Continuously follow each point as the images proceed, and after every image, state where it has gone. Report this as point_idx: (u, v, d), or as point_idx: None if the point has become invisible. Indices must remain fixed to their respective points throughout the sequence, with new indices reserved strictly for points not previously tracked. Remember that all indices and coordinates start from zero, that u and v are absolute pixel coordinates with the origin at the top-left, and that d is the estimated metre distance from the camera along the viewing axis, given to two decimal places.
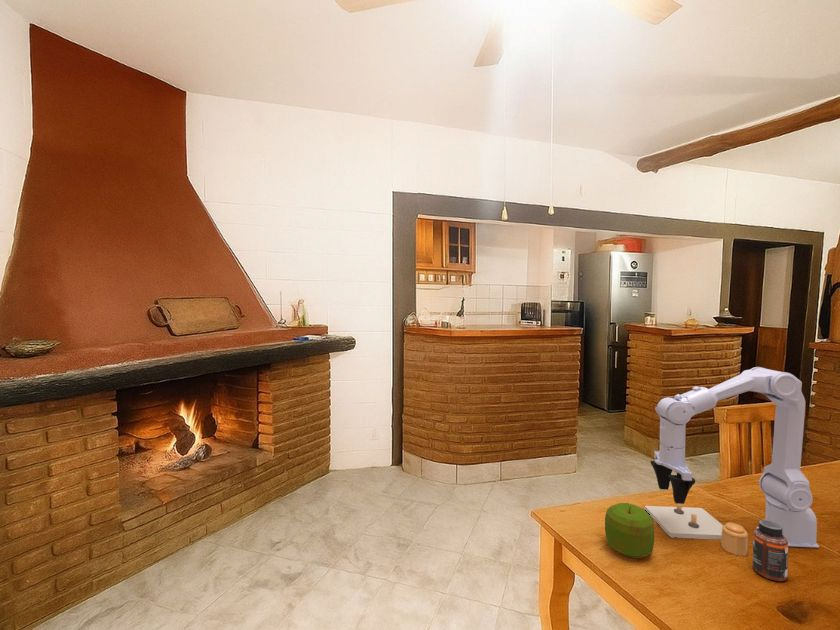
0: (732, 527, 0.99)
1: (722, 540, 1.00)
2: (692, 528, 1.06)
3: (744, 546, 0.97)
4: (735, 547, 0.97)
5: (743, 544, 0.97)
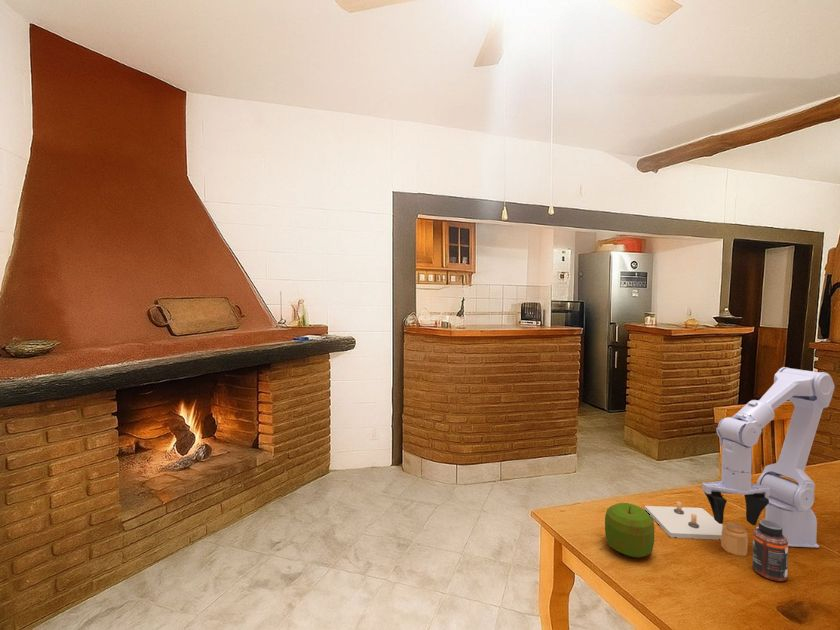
0: (732, 527, 0.99)
1: (722, 540, 1.00)
2: (692, 528, 1.06)
3: (744, 546, 0.97)
4: (735, 547, 0.97)
5: (743, 544, 0.97)
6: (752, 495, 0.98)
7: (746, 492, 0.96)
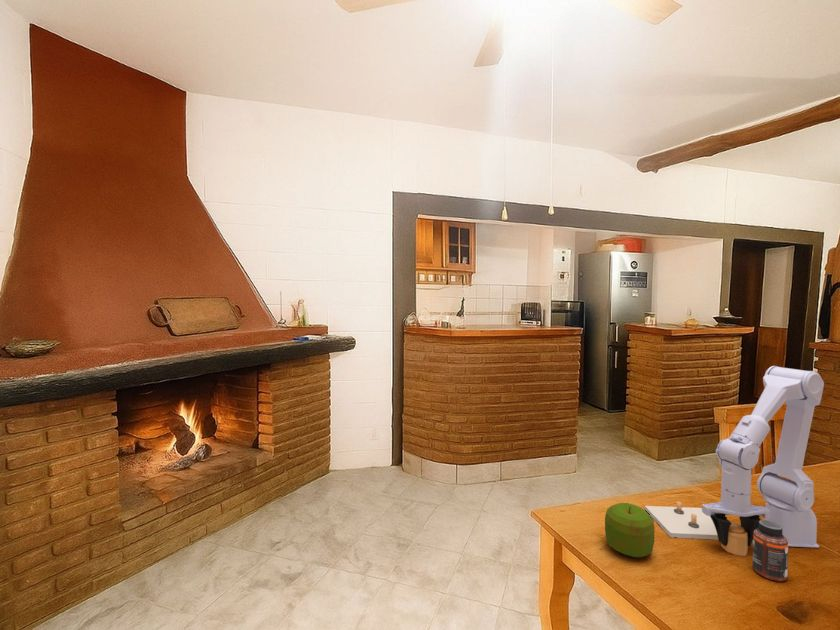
0: (732, 527, 0.99)
1: None
2: (692, 528, 1.06)
3: (744, 546, 0.97)
4: (735, 547, 0.97)
5: (743, 544, 0.97)
6: (747, 516, 0.99)
7: (746, 514, 0.96)
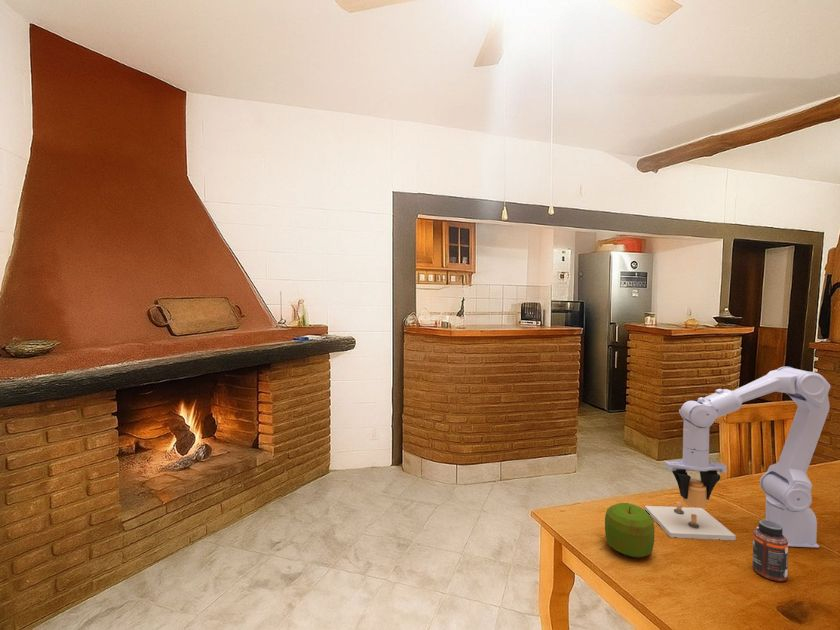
0: (692, 482, 1.07)
1: None
2: (692, 528, 1.06)
3: (703, 499, 1.05)
4: (695, 500, 1.05)
5: (702, 497, 1.05)
6: (706, 472, 1.07)
7: (704, 469, 1.04)
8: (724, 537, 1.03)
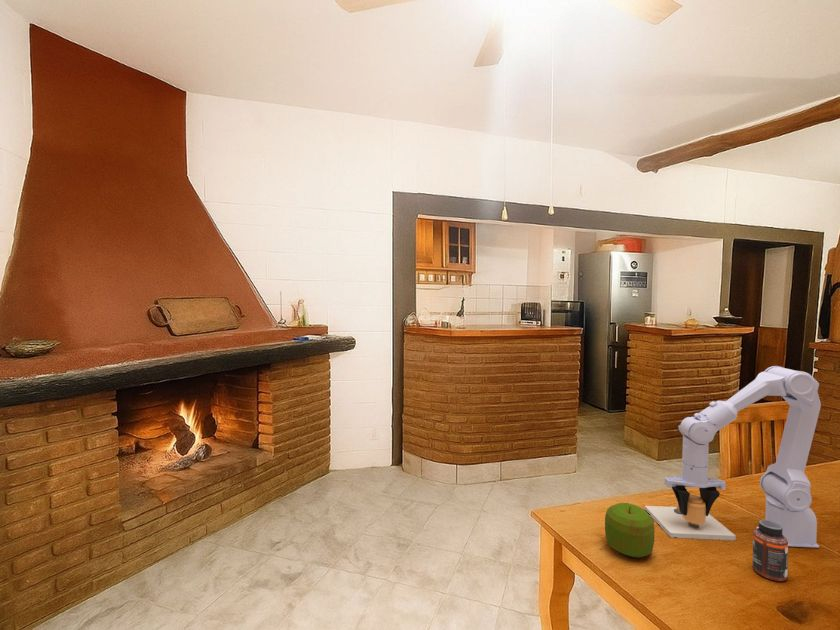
0: (692, 498, 1.07)
1: None
2: (692, 528, 1.06)
3: (702, 515, 1.05)
4: (694, 516, 1.05)
5: (701, 514, 1.05)
6: (705, 488, 1.07)
7: (703, 485, 1.04)
8: (724, 537, 1.03)
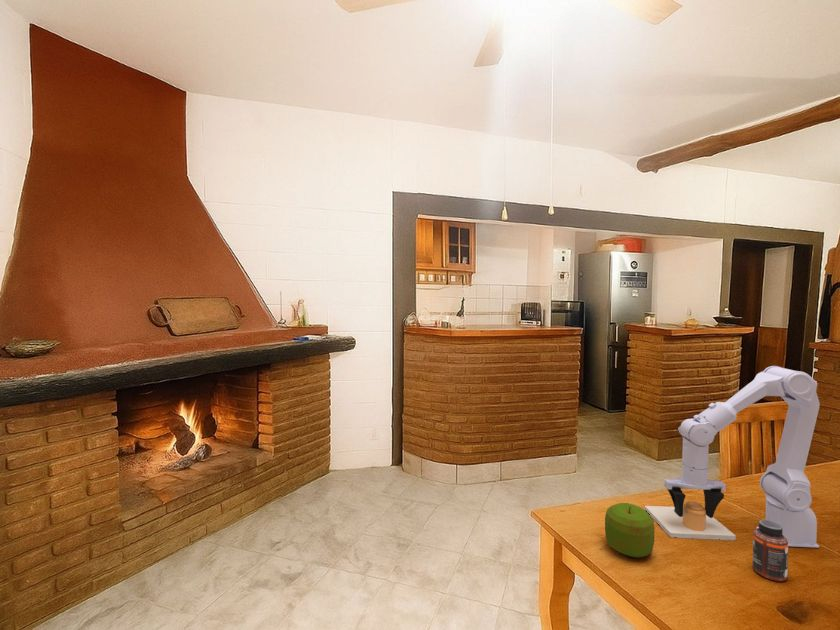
0: (692, 505, 1.07)
1: (683, 517, 1.08)
2: None
3: (702, 522, 1.05)
4: (694, 523, 1.05)
5: (701, 520, 1.05)
6: (709, 490, 1.07)
7: (703, 487, 1.04)
8: (724, 537, 1.03)
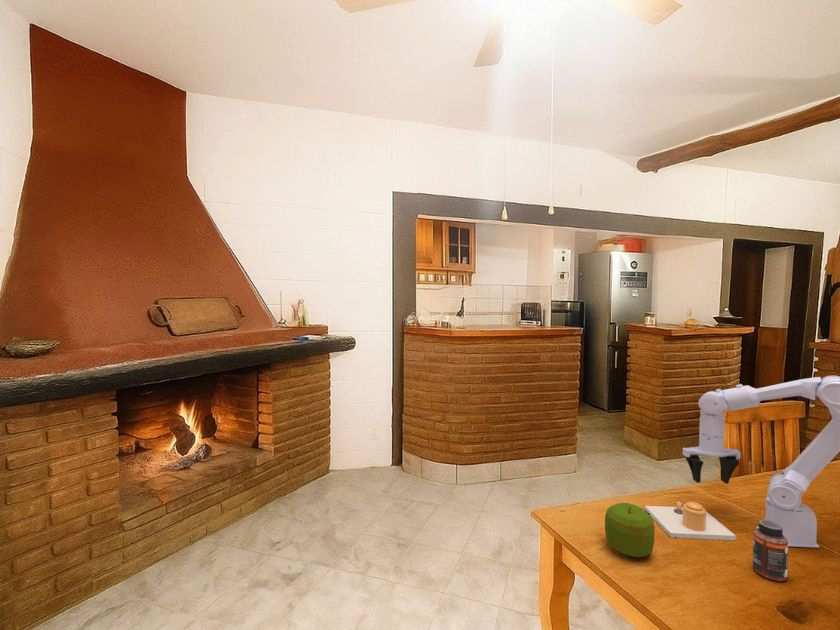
0: (692, 505, 1.07)
1: (683, 517, 1.08)
2: None
3: (702, 522, 1.05)
4: (694, 523, 1.05)
5: (701, 520, 1.05)
6: (725, 458, 1.14)
7: (719, 454, 1.11)
8: (724, 537, 1.03)
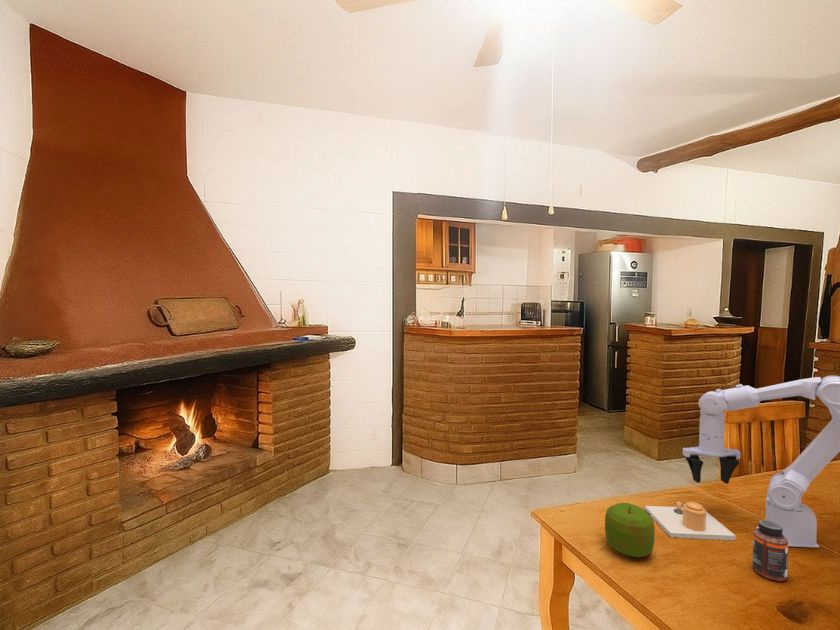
0: (692, 505, 1.07)
1: (683, 517, 1.08)
2: None
3: (702, 522, 1.05)
4: (694, 523, 1.05)
5: (701, 520, 1.05)
6: (725, 458, 1.14)
7: (719, 454, 1.11)
8: (724, 537, 1.03)
